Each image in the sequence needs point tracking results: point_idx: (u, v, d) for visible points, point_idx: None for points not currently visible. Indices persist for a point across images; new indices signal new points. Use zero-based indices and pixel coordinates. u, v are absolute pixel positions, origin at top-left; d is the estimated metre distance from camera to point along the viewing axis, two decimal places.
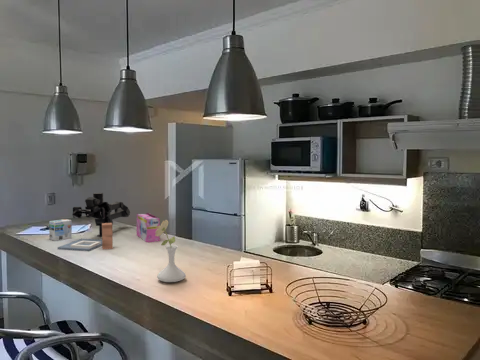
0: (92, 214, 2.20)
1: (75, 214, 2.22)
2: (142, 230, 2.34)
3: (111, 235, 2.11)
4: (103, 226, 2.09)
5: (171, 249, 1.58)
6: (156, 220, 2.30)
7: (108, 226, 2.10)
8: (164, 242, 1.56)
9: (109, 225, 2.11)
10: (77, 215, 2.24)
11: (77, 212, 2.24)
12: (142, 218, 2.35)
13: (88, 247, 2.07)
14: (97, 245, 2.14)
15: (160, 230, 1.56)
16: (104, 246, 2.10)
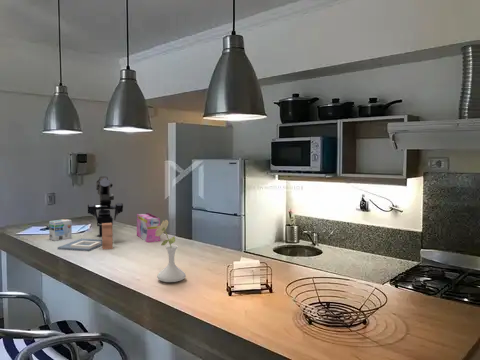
0: (116, 215, 2.23)
1: (97, 217, 2.20)
2: (143, 230, 2.34)
3: (111, 235, 2.11)
4: (103, 226, 2.09)
5: (171, 249, 1.58)
6: (156, 220, 2.30)
7: (108, 226, 2.10)
8: (164, 242, 1.56)
9: (109, 225, 2.11)
10: None
11: None
12: (142, 218, 2.35)
13: (88, 247, 2.07)
14: (97, 245, 2.14)
15: (160, 230, 1.56)
16: (104, 246, 2.10)
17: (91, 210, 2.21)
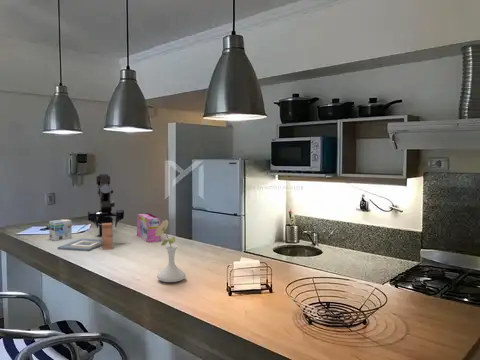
0: (117, 222, 2.19)
1: (97, 224, 2.16)
2: (143, 230, 2.34)
3: (111, 235, 2.11)
4: (103, 226, 2.09)
5: (171, 249, 1.58)
6: (157, 220, 2.30)
7: (108, 226, 2.10)
8: (164, 242, 1.56)
9: (109, 225, 2.11)
10: None
11: (96, 219, 2.17)
12: (143, 218, 2.35)
13: (88, 247, 2.07)
14: (97, 245, 2.14)
15: (160, 230, 1.56)
16: (104, 246, 2.10)
17: (91, 217, 2.16)
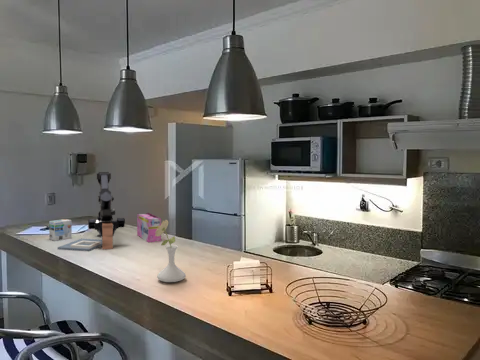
0: (114, 231, 2.14)
1: (101, 232, 2.12)
2: (144, 230, 2.34)
3: (111, 235, 2.11)
4: (103, 226, 2.09)
5: (171, 249, 1.58)
6: (158, 220, 2.30)
7: (108, 226, 2.10)
8: (164, 242, 1.56)
9: (109, 225, 2.11)
10: None
11: (100, 228, 2.13)
12: (143, 218, 2.35)
13: (88, 247, 2.07)
14: (97, 245, 2.14)
15: (160, 230, 1.56)
16: (104, 246, 2.10)
17: (95, 225, 2.13)
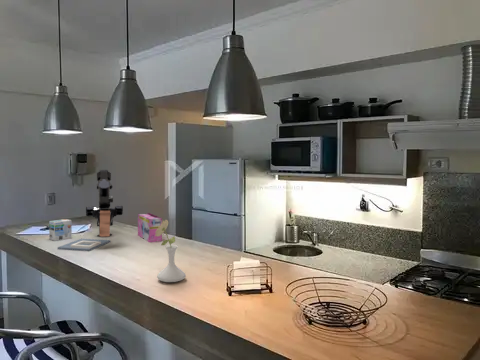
0: (112, 218, 2.14)
1: None
2: (145, 230, 2.34)
3: (108, 222, 2.10)
4: (101, 213, 2.09)
5: (171, 249, 1.58)
6: (158, 220, 2.30)
7: (106, 213, 2.10)
8: (164, 242, 1.56)
9: (107, 212, 2.10)
10: None
11: (98, 215, 2.13)
12: (144, 218, 2.35)
13: (88, 247, 2.07)
14: (97, 245, 2.14)
15: (160, 230, 1.56)
16: (101, 233, 2.10)
17: (93, 213, 2.13)
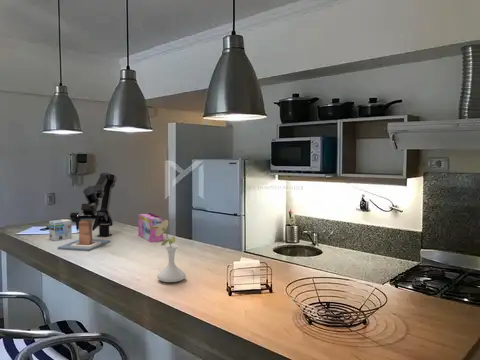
0: (95, 225, 2.14)
1: (78, 226, 2.14)
2: (145, 230, 2.34)
3: (87, 233, 2.11)
4: (79, 223, 2.10)
5: (171, 249, 1.58)
6: (159, 220, 2.30)
7: (84, 224, 2.10)
8: (164, 242, 1.56)
9: (85, 223, 2.10)
10: None
11: (78, 221, 2.15)
12: (145, 218, 2.35)
13: (88, 247, 2.07)
14: (97, 245, 2.14)
15: (160, 230, 1.56)
16: (81, 243, 2.11)
17: (74, 219, 2.15)
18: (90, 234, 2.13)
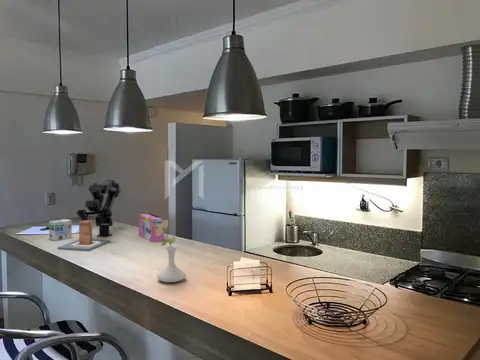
0: (101, 221, 2.22)
1: None
2: (146, 230, 2.34)
3: (87, 233, 2.11)
4: (80, 223, 2.10)
5: (171, 249, 1.58)
6: (160, 220, 2.30)
7: (84, 224, 2.10)
8: (164, 242, 1.56)
9: (85, 223, 2.10)
10: (86, 220, 2.26)
11: (84, 218, 2.25)
12: (146, 218, 2.35)
13: (88, 247, 2.07)
14: (97, 245, 2.14)
15: (160, 230, 1.56)
16: (81, 243, 2.11)
17: (80, 216, 2.26)
18: (90, 234, 2.13)
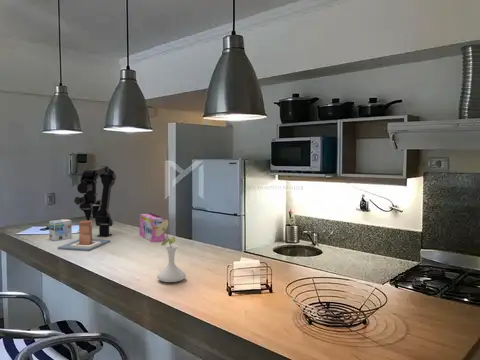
0: (87, 216, 2.20)
1: (94, 213, 2.30)
2: (147, 230, 2.34)
3: (87, 233, 2.11)
4: (80, 223, 2.10)
5: (171, 249, 1.58)
6: (161, 220, 2.31)
7: (84, 224, 2.10)
8: (164, 242, 1.56)
9: (85, 223, 2.10)
10: (96, 209, 2.30)
11: (93, 209, 2.30)
12: (146, 218, 2.35)
13: (88, 247, 2.07)
14: (97, 245, 2.14)
15: (160, 230, 1.56)
16: (81, 243, 2.11)
17: None
18: (90, 234, 2.13)
